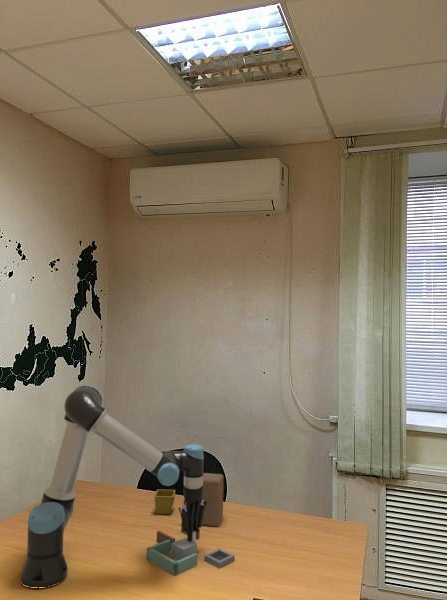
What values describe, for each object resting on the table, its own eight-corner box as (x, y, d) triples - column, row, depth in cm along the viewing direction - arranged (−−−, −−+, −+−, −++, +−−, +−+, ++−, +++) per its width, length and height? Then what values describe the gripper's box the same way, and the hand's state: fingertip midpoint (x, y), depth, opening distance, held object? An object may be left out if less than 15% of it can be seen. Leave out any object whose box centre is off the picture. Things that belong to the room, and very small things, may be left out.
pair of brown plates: (172, 550, 189) (172, 539, 189) (156, 541, 196) (156, 531, 196) (199, 538, 199) (199, 528, 199) (183, 531, 206) (183, 521, 206)
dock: (175, 575, 170) (175, 564, 170) (146, 559, 181) (147, 548, 181) (197, 565, 177) (197, 554, 178) (168, 549, 189) (168, 539, 189)
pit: (219, 568, 175) (219, 562, 176) (204, 560, 181) (204, 555, 181) (234, 560, 181) (234, 555, 181) (219, 553, 187) (219, 548, 187)
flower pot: (172, 516, 221) (173, 496, 221) (153, 516, 221) (154, 496, 222) (175, 509, 230) (175, 489, 230) (156, 508, 230) (157, 489, 230)
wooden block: (218, 527, 210) (219, 480, 211) (196, 525, 212) (197, 478, 213) (223, 518, 220) (224, 473, 221) (201, 516, 222) (202, 472, 223)
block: (183, 563, 179) (183, 549, 179) (170, 556, 183) (171, 543, 184) (196, 556, 184) (197, 543, 184) (184, 550, 188) (184, 537, 189)
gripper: (198, 480, 195) (197, 539, 194) (174, 487, 186) (172, 550, 185) (212, 484, 190) (210, 546, 189) (187, 492, 180) (185, 557, 179)
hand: (191, 548), depth 187 cm, fingers closed
